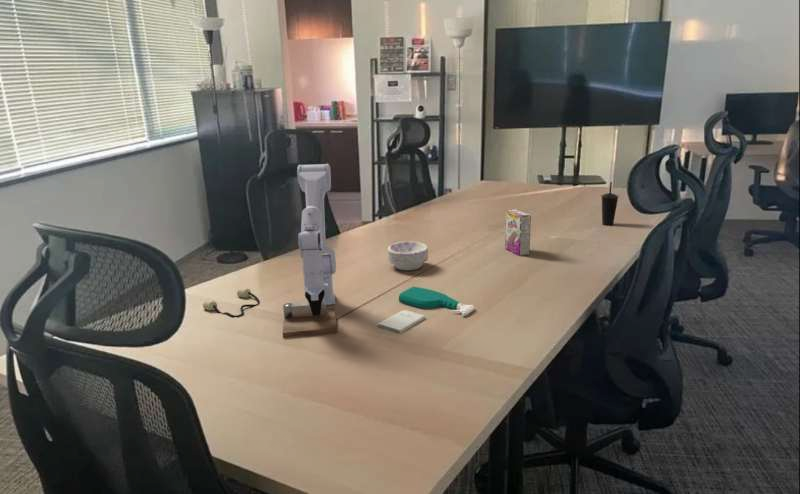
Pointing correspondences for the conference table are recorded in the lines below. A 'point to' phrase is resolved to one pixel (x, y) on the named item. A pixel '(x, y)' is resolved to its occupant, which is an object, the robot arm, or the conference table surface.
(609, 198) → the drinking cup
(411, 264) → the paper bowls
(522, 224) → the candy bar box
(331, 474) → the conference table surface
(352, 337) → the conference table surface
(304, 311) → the folding leg
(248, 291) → the cable
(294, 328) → the stool seat
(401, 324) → the external hard drive
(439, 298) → the spray bottle
